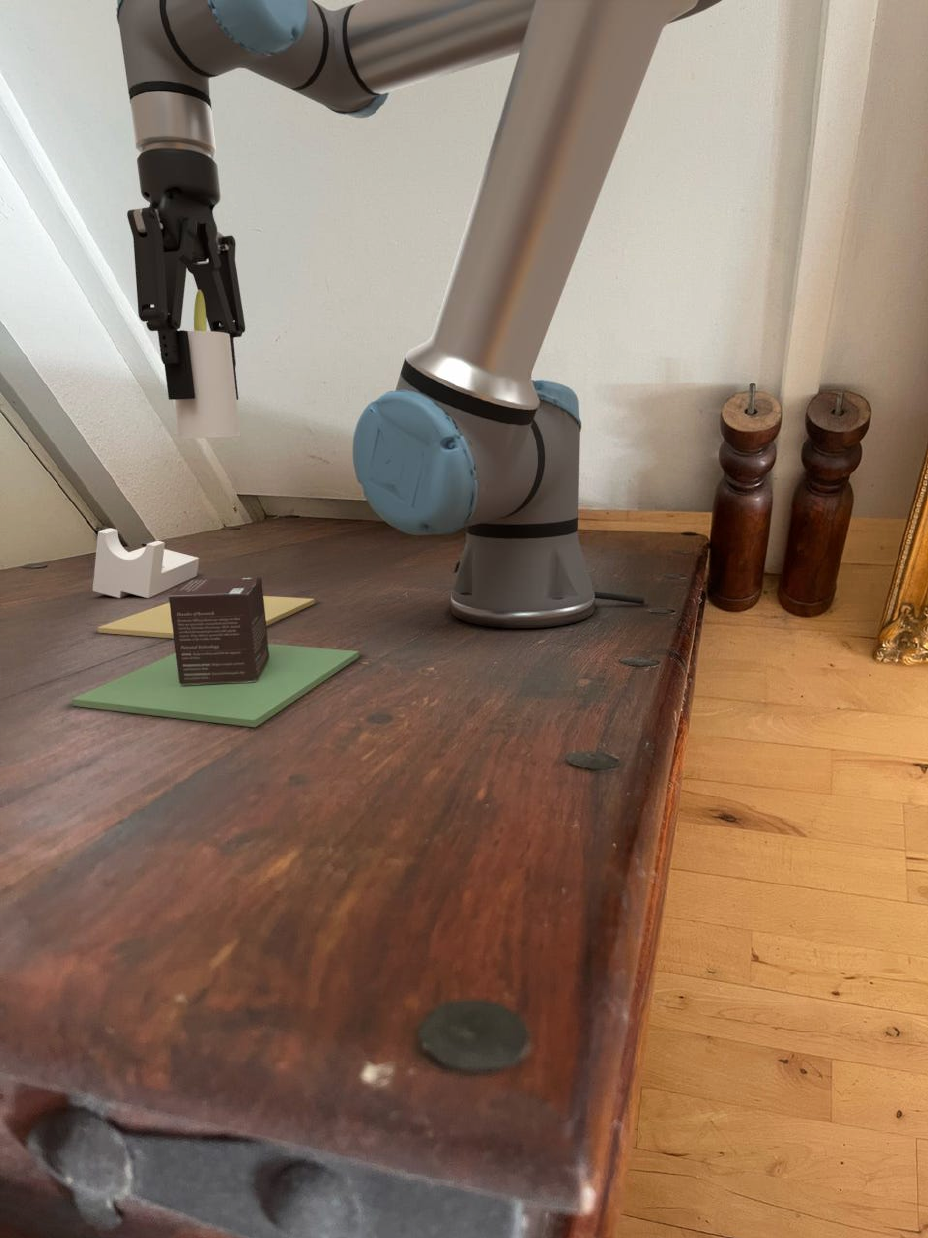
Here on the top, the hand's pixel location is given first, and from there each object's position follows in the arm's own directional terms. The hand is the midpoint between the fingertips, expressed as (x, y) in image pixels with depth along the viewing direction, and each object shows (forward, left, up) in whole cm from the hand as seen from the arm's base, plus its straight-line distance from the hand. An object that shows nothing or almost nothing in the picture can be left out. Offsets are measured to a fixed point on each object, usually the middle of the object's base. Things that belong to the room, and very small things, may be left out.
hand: (205, 399), depth 80 cm
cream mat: (-1, +5, -23) cm, 23 cm away
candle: (0, 0, -4) cm, 4 cm away
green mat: (-15, +22, -23) cm, 35 cm away
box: (-15, +22, -22) cm, 35 cm away
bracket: (+17, -7, -23) cm, 29 cm away
